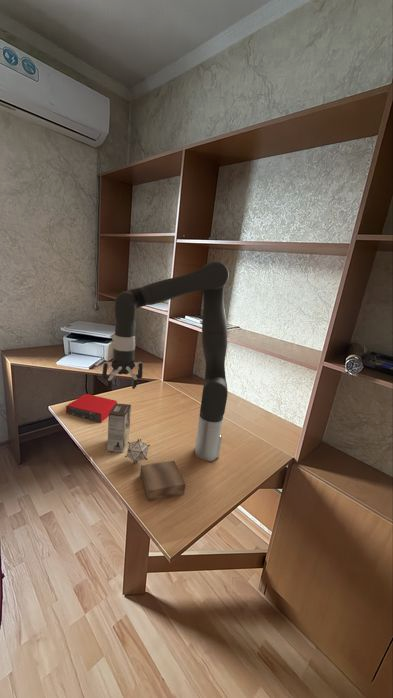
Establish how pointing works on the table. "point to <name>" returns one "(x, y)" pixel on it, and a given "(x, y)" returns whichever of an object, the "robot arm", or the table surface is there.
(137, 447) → the game die
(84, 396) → the red device housing
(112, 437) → the coffee box
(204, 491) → the table surface
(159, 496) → the walnut plinth
